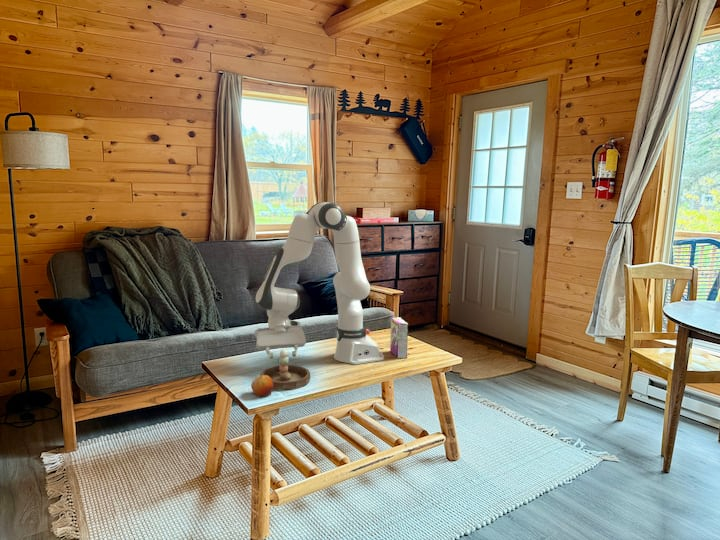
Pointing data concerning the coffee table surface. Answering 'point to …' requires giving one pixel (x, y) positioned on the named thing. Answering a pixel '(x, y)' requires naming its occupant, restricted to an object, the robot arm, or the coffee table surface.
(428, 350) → the coffee table surface
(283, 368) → the bead column
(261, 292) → the robot arm
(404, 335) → the candy bar box
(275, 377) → the walnut tray
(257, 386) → the fruit
